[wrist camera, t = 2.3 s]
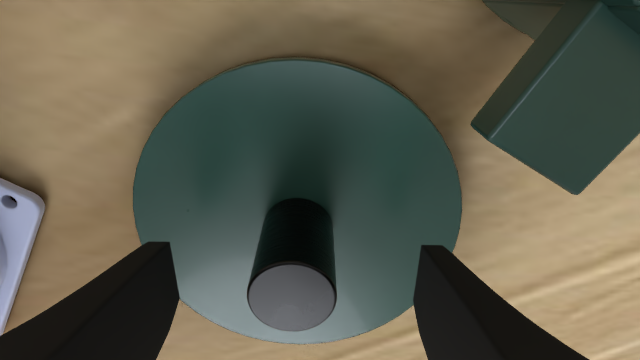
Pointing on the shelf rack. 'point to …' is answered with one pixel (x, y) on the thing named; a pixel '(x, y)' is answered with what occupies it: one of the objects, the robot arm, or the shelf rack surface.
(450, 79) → the shelf rack surface
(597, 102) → the pot
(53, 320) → the robot arm
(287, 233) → the pot lid
